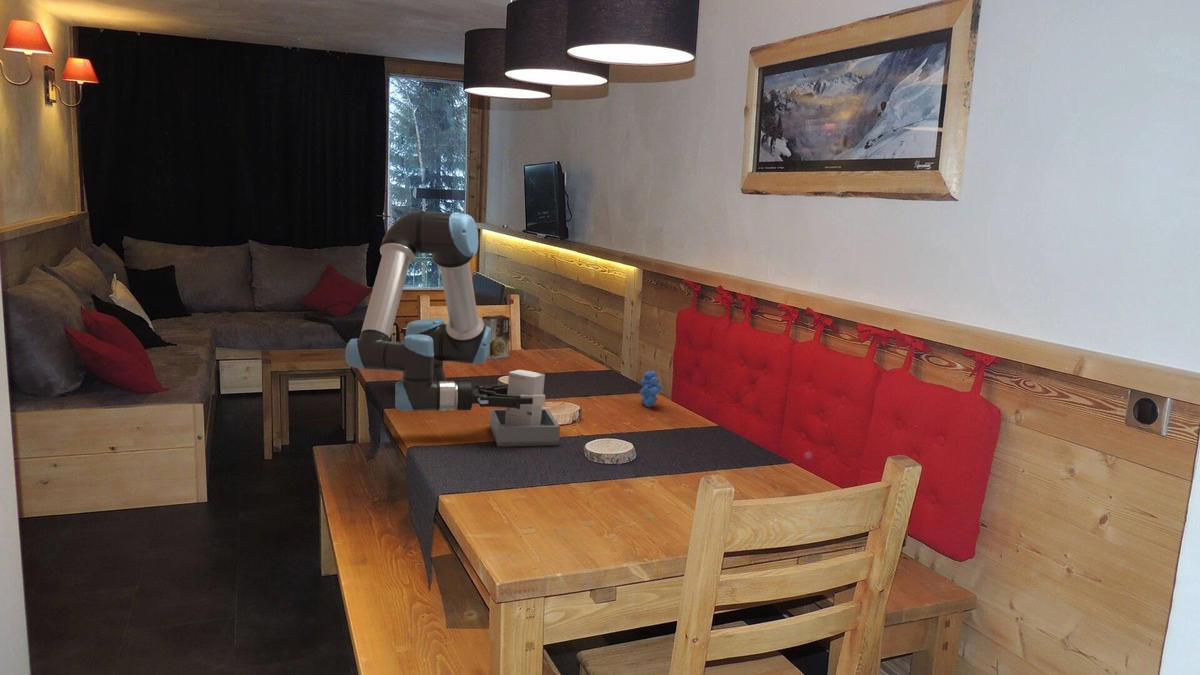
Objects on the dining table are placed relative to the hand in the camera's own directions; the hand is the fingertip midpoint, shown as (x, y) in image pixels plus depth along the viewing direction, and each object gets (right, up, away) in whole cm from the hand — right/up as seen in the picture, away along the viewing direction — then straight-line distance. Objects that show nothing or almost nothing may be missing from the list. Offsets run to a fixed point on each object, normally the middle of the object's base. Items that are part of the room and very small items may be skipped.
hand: (541, 395), depth 222 cm
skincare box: (-5, -9, 0) cm, 10 cm away
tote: (-5, -11, +1) cm, 12 cm away
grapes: (+32, -7, +39) cm, 51 cm away
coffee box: (-26, +8, +105) cm, 109 cm away
